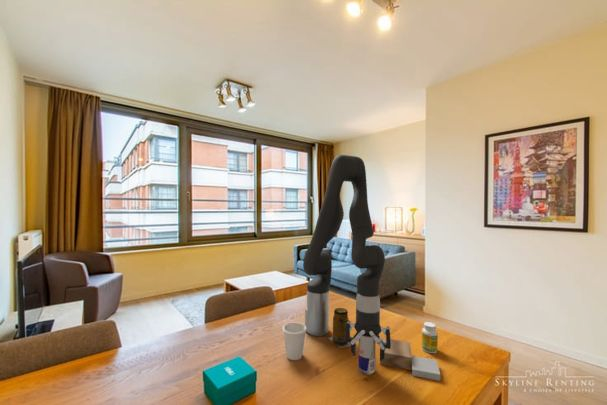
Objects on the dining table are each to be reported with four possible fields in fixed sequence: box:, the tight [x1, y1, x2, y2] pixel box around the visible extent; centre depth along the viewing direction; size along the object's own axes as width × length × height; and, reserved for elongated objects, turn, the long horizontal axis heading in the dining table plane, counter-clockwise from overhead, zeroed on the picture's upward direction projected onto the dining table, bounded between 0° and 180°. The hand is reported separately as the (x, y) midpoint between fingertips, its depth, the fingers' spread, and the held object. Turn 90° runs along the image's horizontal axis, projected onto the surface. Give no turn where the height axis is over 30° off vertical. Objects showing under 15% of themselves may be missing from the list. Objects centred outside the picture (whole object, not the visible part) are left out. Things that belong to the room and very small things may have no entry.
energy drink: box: [357, 335, 377, 376], centre depth 89 cm, size 5×5×12 cm
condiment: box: [327, 307, 351, 349], centre depth 107 cm, size 7×8×12 cm
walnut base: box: [379, 337, 413, 371], centre depth 96 cm, size 10×10×4 cm
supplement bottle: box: [421, 321, 439, 354], centre depth 101 cm, size 5×5×10 cm
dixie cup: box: [282, 321, 307, 361], centre depth 97 cm, size 8×8×10 cm
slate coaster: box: [411, 355, 441, 382], centre depth 89 cm, size 8×8×2 cm
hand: (367, 357), depth 89 cm, fingers open, 8 cm apart
